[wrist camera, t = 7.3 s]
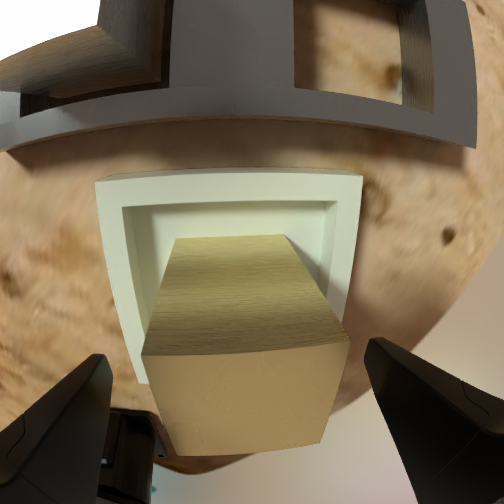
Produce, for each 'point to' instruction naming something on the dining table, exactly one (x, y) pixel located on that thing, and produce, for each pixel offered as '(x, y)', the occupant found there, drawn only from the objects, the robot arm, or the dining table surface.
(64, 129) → the rail
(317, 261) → the tray
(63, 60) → the grey square block
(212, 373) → the beige wooden block
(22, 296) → the dining table surface
